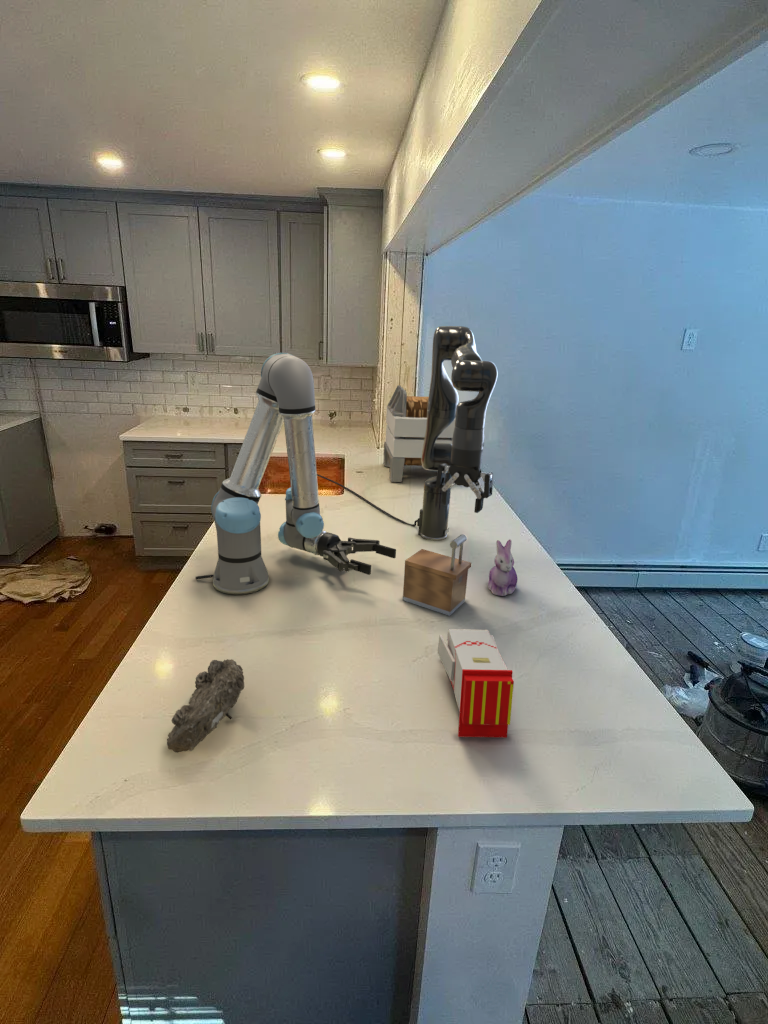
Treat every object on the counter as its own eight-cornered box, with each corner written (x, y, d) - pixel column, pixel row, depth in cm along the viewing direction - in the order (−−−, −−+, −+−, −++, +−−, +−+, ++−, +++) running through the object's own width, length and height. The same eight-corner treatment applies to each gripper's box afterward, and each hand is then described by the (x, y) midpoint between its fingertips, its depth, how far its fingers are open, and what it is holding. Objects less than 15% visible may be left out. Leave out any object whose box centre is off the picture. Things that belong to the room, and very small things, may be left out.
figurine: (500, 600, 157) (506, 550, 151) (478, 584, 165) (483, 536, 160) (526, 593, 161) (533, 545, 156) (503, 578, 169) (509, 532, 164)
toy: (488, 613, 130) (523, 677, 101) (484, 667, 133) (517, 744, 104) (435, 612, 130) (455, 676, 101) (432, 666, 133) (451, 743, 103)
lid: (471, 566, 151) (474, 534, 148) (456, 579, 144) (459, 545, 141) (421, 552, 159) (424, 521, 156) (404, 564, 151) (406, 531, 148)
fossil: (192, 660, 117) (244, 628, 112) (224, 691, 120) (276, 661, 115) (142, 746, 98) (202, 712, 93) (182, 779, 101) (242, 748, 96)
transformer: (382, 463, 289) (386, 382, 275) (445, 464, 293) (451, 384, 279) (390, 482, 257) (394, 392, 243) (460, 483, 261) (468, 394, 247)
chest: (464, 601, 155) (468, 566, 152) (449, 615, 148) (453, 579, 144) (419, 586, 162) (421, 553, 159) (402, 600, 155) (404, 564, 151)
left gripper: (346, 542, 183) (403, 558, 173) (297, 569, 163) (358, 590, 153) (347, 520, 180) (405, 536, 170) (296, 545, 160) (359, 564, 150)
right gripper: (434, 443, 138) (429, 506, 143) (489, 453, 131) (482, 518, 136) (447, 438, 144) (442, 499, 149) (501, 447, 137) (493, 510, 142)
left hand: (383, 561), depth 161 cm, fingers open, 13 cm apart
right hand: (461, 508), depth 143 cm, fingers open, 8 cm apart
